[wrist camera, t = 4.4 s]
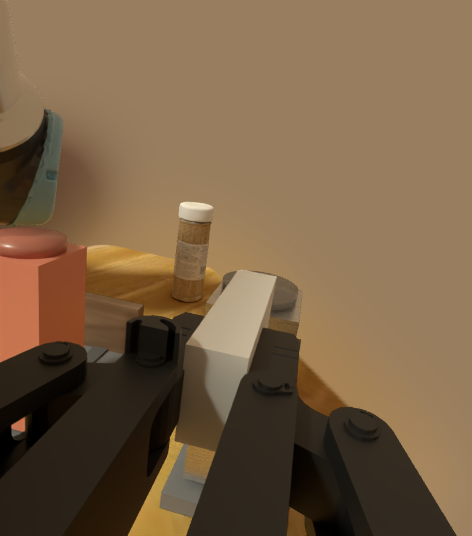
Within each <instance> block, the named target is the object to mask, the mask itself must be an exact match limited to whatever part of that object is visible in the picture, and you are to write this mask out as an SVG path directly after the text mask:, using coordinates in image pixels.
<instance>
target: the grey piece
mask: <svg viewBox="0 0 472 536" xmlns="http://www.w3.org/2000/svg"><path fill="white" fill-rule="evenodd" d="M143 310H144V305H143V304H139V303H134V302H130V301H125V300H121V299H116V298H112V297H107V296H103V295H98V294H94V293H89V292H86V293H85V329H84V348H85V349H86V352H87V362H90V363H115V362H116V361H117V360H118V359H119V358H120V357H121V356H122V355H123V354H124V353H125V338H126V322H127V321H129V320H131V319H132V318H136V317H140V316H143ZM20 433H22V432H21V431H18V430H14V429H12V436H16V435H18V434H20Z"/></svg>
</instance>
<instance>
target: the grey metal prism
mask: <svg viewBox="0 0 472 536" xmlns="http://www.w3.org/2000/svg"><path fill="white" fill-rule="evenodd" d="M251 272H256V273H261V274H267V275H272V276H276V275H273V274H269V273H264V272H257V271H251ZM236 273H237V271H235V272H230V273H227V274H226V275H225V276H224V277H223V281H222V282H221V283H220V285H219V286H218V287H217V289H216V290H215V291H214V293H213V294H212V295H211V297H210V298H209V299H208V301H207V302H206V306H205V314H204V316H206V315H207V313H208V312H209V311H210V309H211V308H212V306H213V305H214V304H215V302H216V301H217V299H218V298H219V297H220V295H221V294H222V292H223V291H224V289H225V288H226V287H227V285H228V284H229V282H230V281H231V280H232V278H233V277H234V275H235V274H236ZM301 301H302V291H301V290H298V288H297V286H296V285H295V284H293V283H292V282H290V281H289V280H287V279H284V278H282V277H279V276H277V278H276V284H275V290H274V295H273V301H272V306H271V312H270V317H269V323H268V329H273V330H277V331H282V332H287V333H291V334H294V335H295V336H296V335H297V330H298V326H299V319H300V310H301ZM214 455H215V452H214V451H210V450H207V449H203V448H199V447H195V446H192V445H188V444H187V452H186V459H185V467H184V475H183V478H184V479H188V480H191V481H195V482H198V483H202V484H205V481H206V478H207V475H208V472H209V469H210V466H211V464H212V461H213V458H214Z"/></svg>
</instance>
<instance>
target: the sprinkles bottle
mask: <svg viewBox="0 0 472 536" xmlns="http://www.w3.org/2000/svg"><path fill="white" fill-rule="evenodd" d="M213 210H214V209H213V207H212V206H210V205H207V204H203V203H197V202H183V203H181V204H180V208H179V217H180V218H179V220H180V222H179V232H178V240H177V249H176V255H175V265H174V280H173V289H172V292H171V294H172V296H173V297H174V298H176V299H178V300H181V301H185V302H194V301H198V300H200V299H201V298H202V289H203V281H204V277H205V269H206V262H207V254H208V245H209V232H210V225H211V221H212V220H213Z"/></svg>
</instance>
